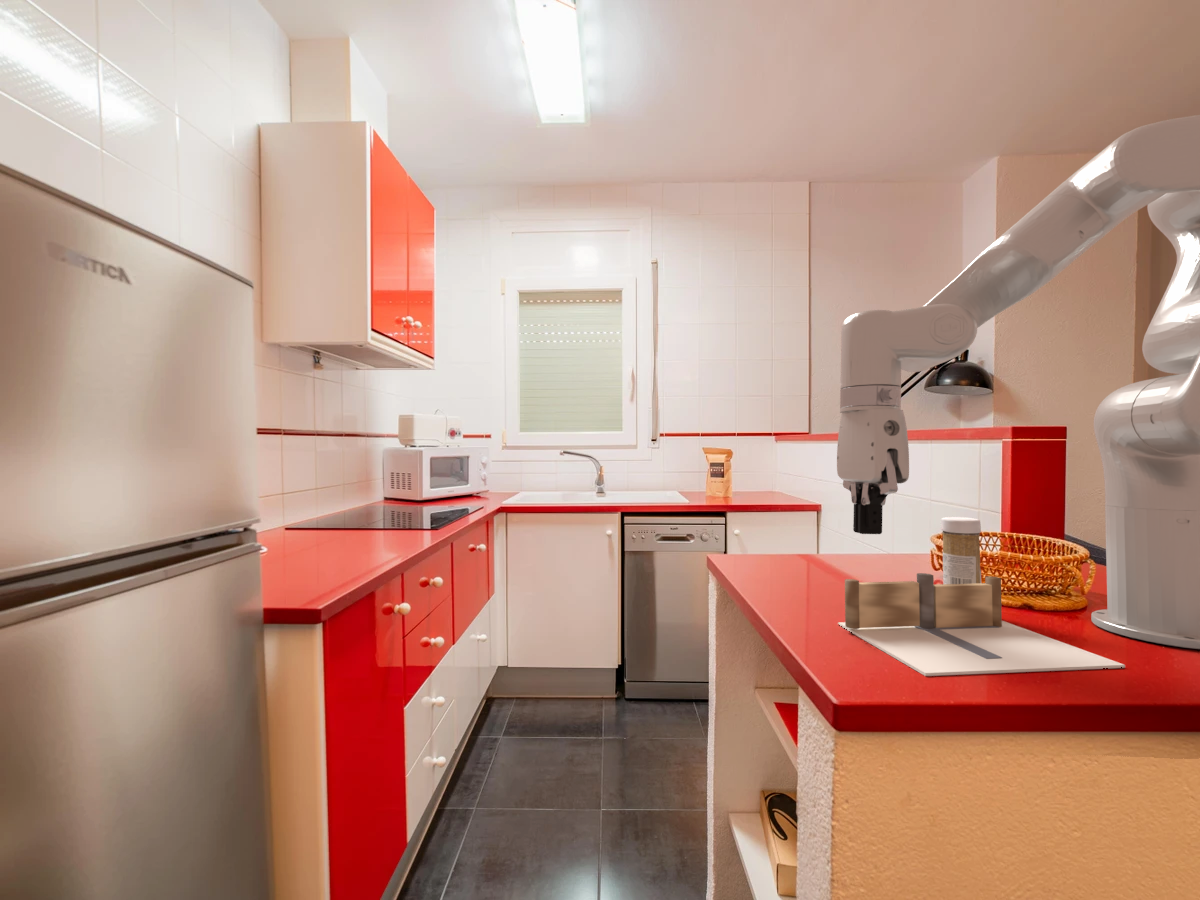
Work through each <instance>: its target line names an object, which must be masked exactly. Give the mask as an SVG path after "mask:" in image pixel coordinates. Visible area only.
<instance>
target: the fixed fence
mask: <svg viewBox="0 0 1200 900" xmlns="http://www.w3.org/2000/svg"><path fill="white" fill-rule="evenodd" d="M984 580H985V583H983V582H981V583H973V584H943V583H941V584H939V583H938V584H935V583H934V575H933V574H931V573H925V572H924V573H922V572H921V573H920V572H918V573H916V582H918V583H919V610H920V626H918V627H921V628H925V629H934V627H936V628H945V627H975V626H998V627H1002V621H1003V620H1002V615H1003V614H1002V609H1003V608H1002V578H1001V577H998V576H991V575H989V576H985V579H984Z"/></svg>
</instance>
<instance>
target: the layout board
mask: <svg viewBox="0 0 1200 900" xmlns="http://www.w3.org/2000/svg"><path fill="white" fill-rule="evenodd" d="M838 624H839V625H840V627H841V626H842V627H841V628H843V629H844V628H845V630H846V629H847V630H846V631H848V632H849V631H850V633H851V632H852V633H851V634H853V635H854V636H856V637H858V638H860V639H862V640H863V641H865V642H866V643H868V644H870V645H872V646H873V647H874V648H877V649H878V650H880V651H881V652H883V653H885V654H887V655H889V656H890V657H892V658H894V659H895V660H898V661H899V662H901V663H903V664H904V665H906V666H907V667H910V669H912V670H914V671H916V672H918V673H920V674H921V675H923V676H924V677H932V676H933V677H935V676H936V677H937V676H956V675H957V676H959V675H962V676H963V675H983V674H984V675H985V674H1006V673H1007V674H1008V673H1009V674H1010V673H1026V672H1027V673H1029V672H1030V673H1031V672H1035V673H1036V672H1050V671H1051V672H1055V671H1057V672H1058V671H1078V670H1079V671H1082V670H1103V668H1105V670H1106V668H1108V669H1125V668H1126V664H1124V663H1120V662H1118V661H1116V660H1112V659H1110V658H1107V657H1104V656H1102V655H1099V654H1096V653H1093V652H1090V651H1087V650H1085V649H1082V648H1079V647H1077V646H1074V645H1071V644H1069V643H1065V642H1063V641H1060V640H1057V639H1054V638H1051V637H1049V636H1046V635H1043V634H1040V633H1037V632H1035V631H1032V630H1030V629H1027V628H1024V627H1021V626H1019V625H1015V624H1013V623H1010V622H1007V621H1005V620H1002V627H998V626H975V627H945V628H936V627H934V629H925V628H921V627H918V626H903V627H872V628H859V629H851V628H848V627H846V626H845V621H844V622H839V621H838V622H837V625H838ZM839 625H838V626H839ZM1121 667H1122V668H1121Z"/></svg>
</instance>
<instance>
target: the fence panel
mask: <svg viewBox="0 0 1200 900" xmlns="http://www.w3.org/2000/svg"><path fill="white" fill-rule="evenodd" d="M844 609H845V610H844V611H845V614H844V616H845V617H844V618H845V621H844V622H845V626H846V627H848V628H851V629H859V628H872V627H903V626H920V610H919V583H918V582H917V581H914V580H909V581H908V580H904V581H903V580H902V581H900V580H899V581H872V582H871V581H870V582H869V581H868V582H867V581H865V582H864V581H863V582H860V580H858V579H854V578H845V579H844Z"/></svg>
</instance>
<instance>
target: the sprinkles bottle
mask: <svg viewBox="0 0 1200 900" xmlns="http://www.w3.org/2000/svg"><path fill="white" fill-rule="evenodd" d="M981 528H982V527H981V520H980V519H979V518H973V517H966V516H945V517H942V518H940V529H941V531H942V532H941V534H942V573H943V575H942V577H943V578H942V579H943V580H942V581H943V583H942V584H973V583H982V570H981V550H980V549H981V548H980V545H981V544H980V535H981V534H980V533H981V532H982V529H981Z"/></svg>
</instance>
